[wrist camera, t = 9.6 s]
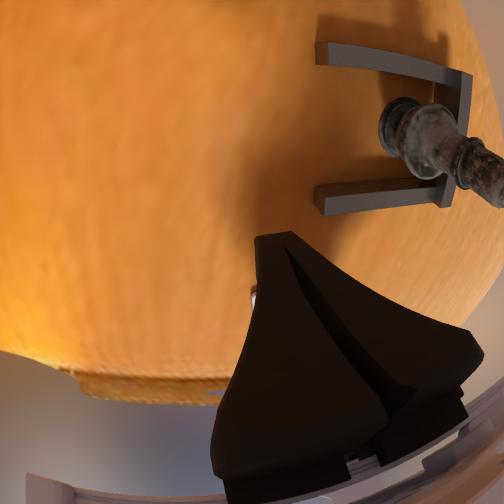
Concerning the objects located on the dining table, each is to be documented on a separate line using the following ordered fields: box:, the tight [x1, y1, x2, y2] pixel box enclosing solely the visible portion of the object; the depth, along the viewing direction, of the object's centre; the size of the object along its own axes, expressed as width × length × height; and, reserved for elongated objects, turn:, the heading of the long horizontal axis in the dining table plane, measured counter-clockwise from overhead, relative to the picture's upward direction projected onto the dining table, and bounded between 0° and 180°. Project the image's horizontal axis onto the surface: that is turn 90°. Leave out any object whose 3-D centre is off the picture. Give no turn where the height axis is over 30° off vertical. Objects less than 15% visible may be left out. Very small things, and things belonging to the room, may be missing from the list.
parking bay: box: [314, 42, 473, 216], centre depth 17 cm, size 12×12×3 cm
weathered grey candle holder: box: [379, 97, 504, 208], centre depth 14 cm, size 6×6×12 cm
